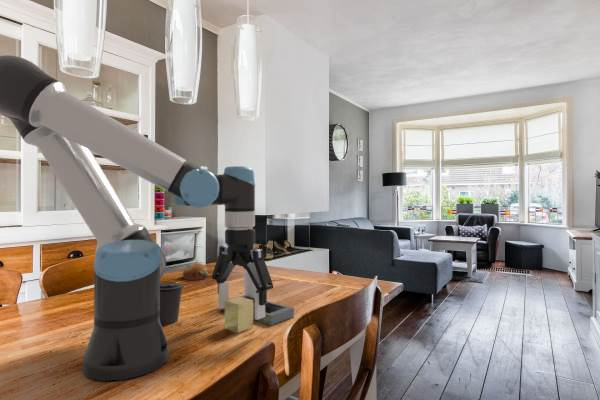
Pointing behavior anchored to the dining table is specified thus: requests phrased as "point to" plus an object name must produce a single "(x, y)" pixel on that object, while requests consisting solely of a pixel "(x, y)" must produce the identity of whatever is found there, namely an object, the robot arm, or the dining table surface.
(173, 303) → the coffee cup
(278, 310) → the grey flat frame
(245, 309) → the pale yellow block
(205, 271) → the bread roll
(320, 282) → the dining table surface
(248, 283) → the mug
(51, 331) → the dining table surface
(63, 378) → the dining table surface
